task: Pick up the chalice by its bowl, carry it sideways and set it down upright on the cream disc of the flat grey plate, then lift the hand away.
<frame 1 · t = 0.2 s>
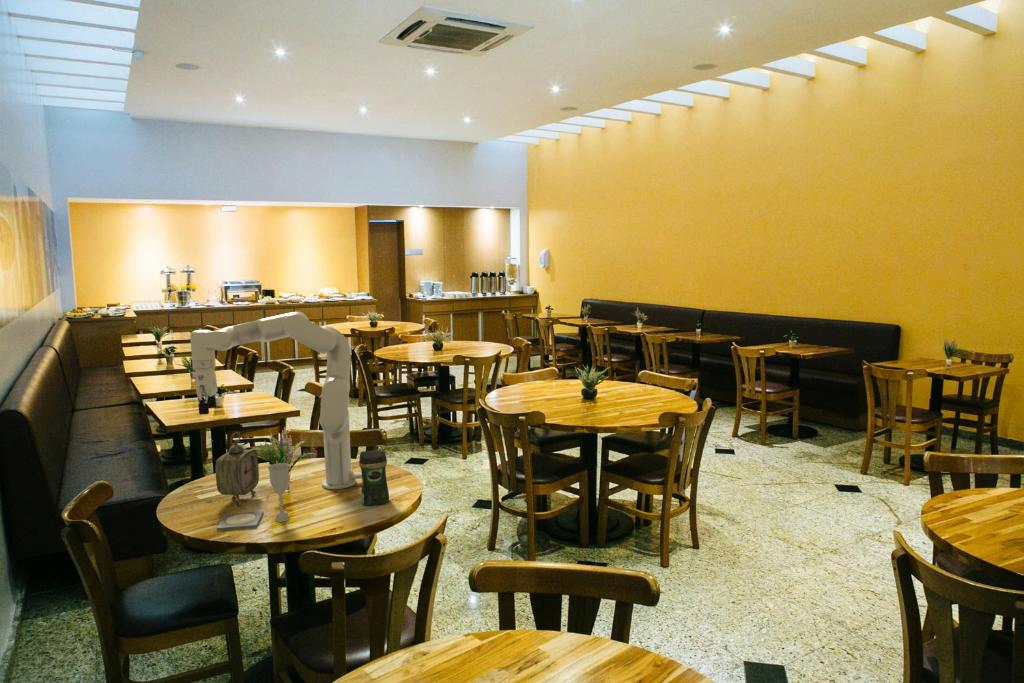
hand: (207, 411, 247), 31 cm above the table, tool pointing down, fingers open, 9 cm apart
plate: (240, 522, 223), on the table
coffee jar: (375, 502, 239), on the table
chalice: (282, 519, 226), on the table
tabletop clock: (239, 501, 243), on the table
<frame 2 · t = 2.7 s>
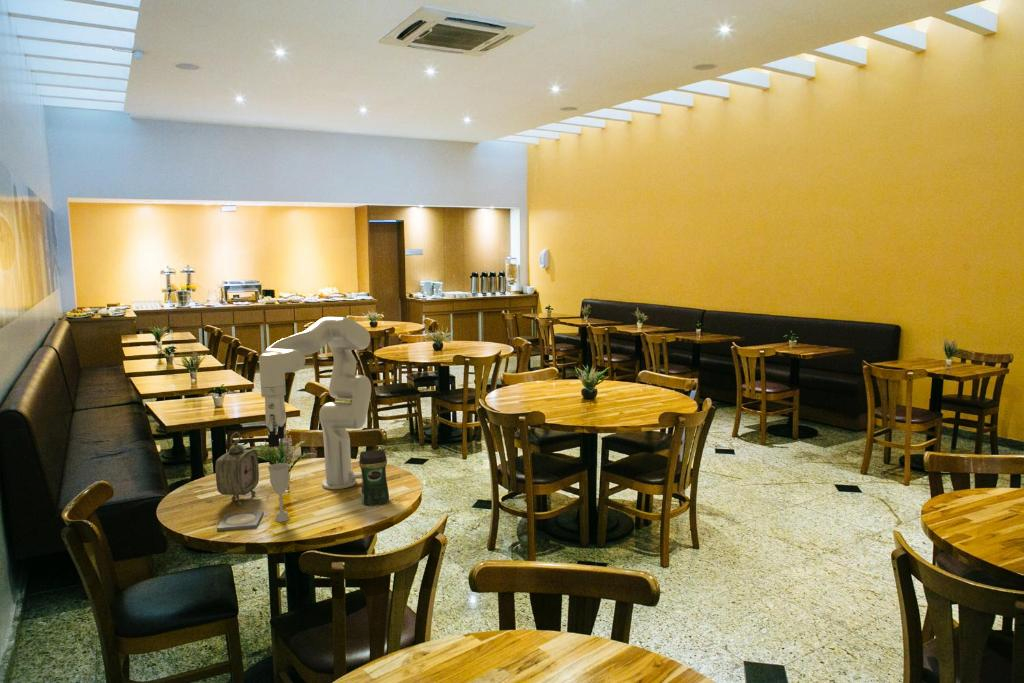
hand: (276, 442, 222), 26 cm above the table, tool pointing down, fingers open, 9 cm apart
nothing on the table moved.
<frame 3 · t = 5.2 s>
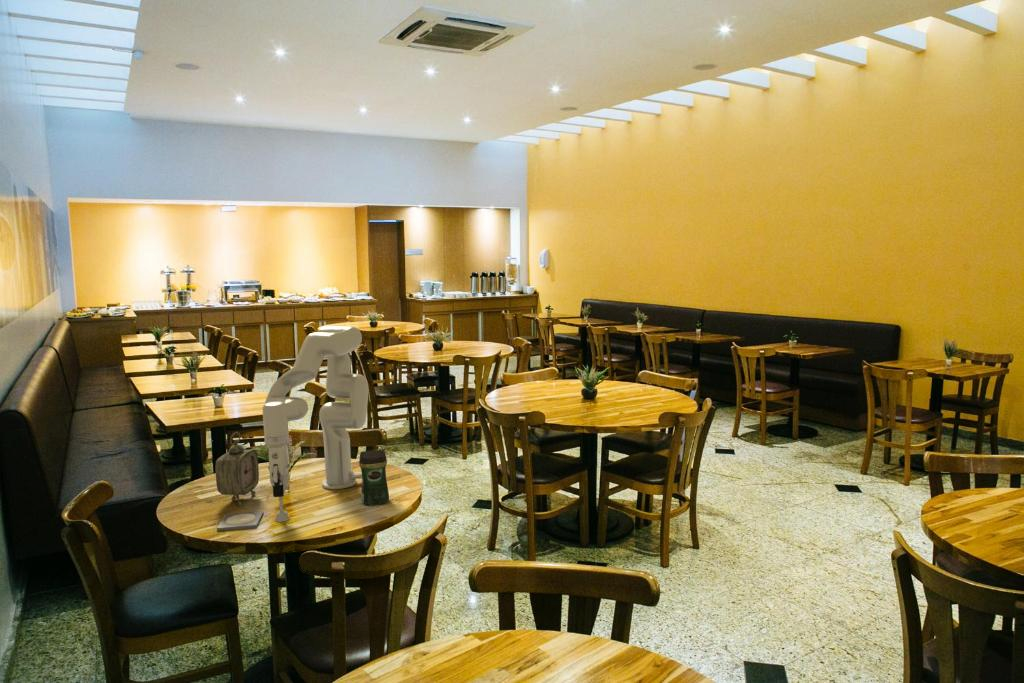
hand: (280, 492, 224), 9 cm above the table, tool pointing down, fingers closed on chalice, 6 cm apart
chalice: (282, 519, 226), on the table, touching gripper
everything else where it was.
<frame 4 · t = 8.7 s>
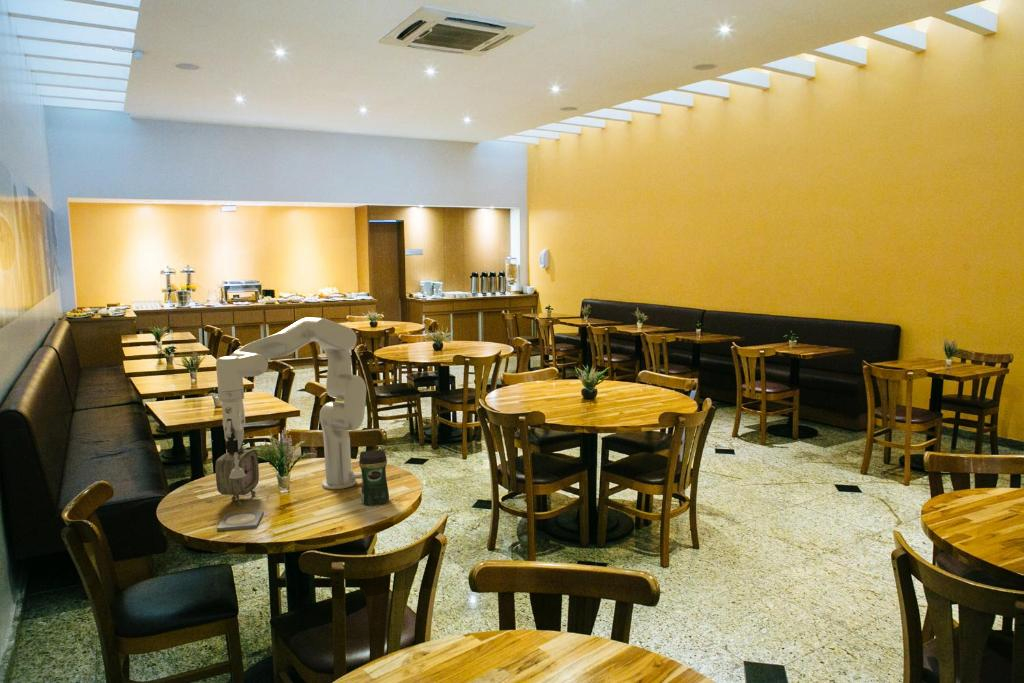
hand: (235, 448, 220), 25 cm above the table, tool pointing down, fingers closed on chalice, 6 cm apart
chalice: (237, 476, 221), point 15 cm above the table, touching gripper
everything else where it was.
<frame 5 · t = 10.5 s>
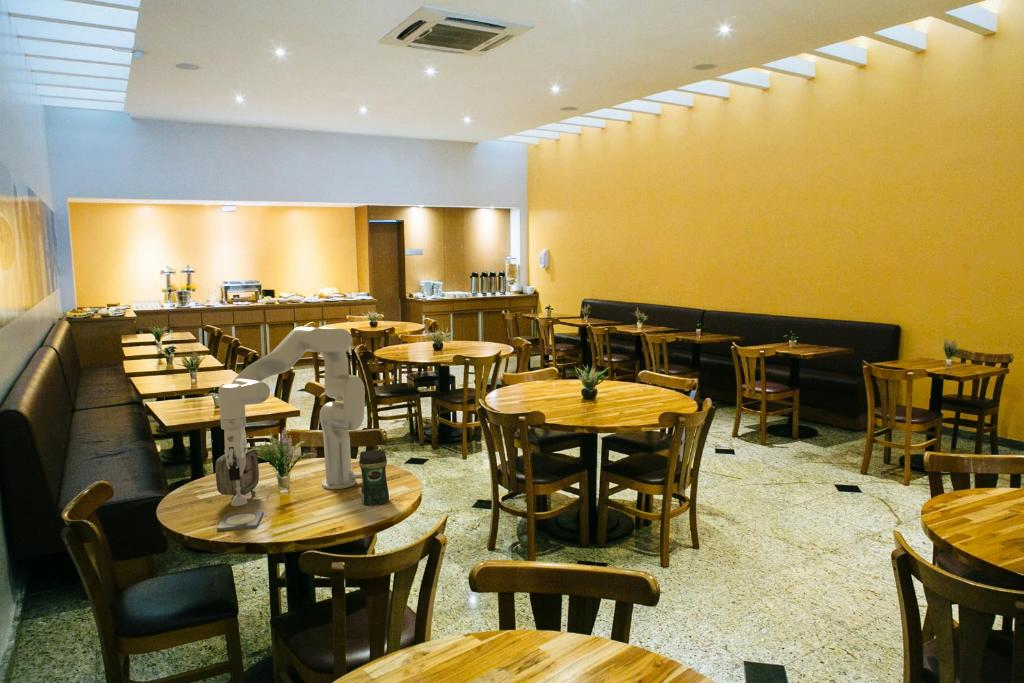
hand: (237, 476, 221), 16 cm above the table, tool pointing down, fingers closed on chalice, 6 cm apart
chalice: (239, 503, 223), point 6 cm above the table, touching gripper
everything else where it was.
when the fingers open (11 cm above the table, at t = 12.2 s): chalice stays where it is, resting on plate.
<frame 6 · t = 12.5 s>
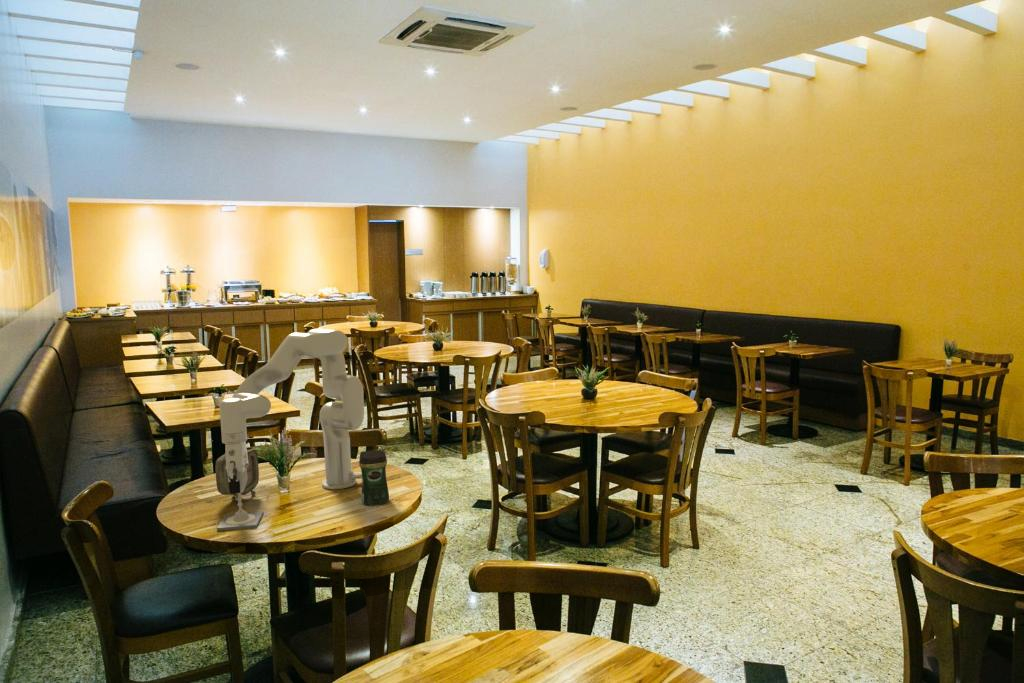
hand: (238, 488, 222), 12 cm above the table, tool pointing down, fingers open, 8 cm apart
chalice: (241, 519, 224), point 1 cm above the table, touching plate
everything else where it was.
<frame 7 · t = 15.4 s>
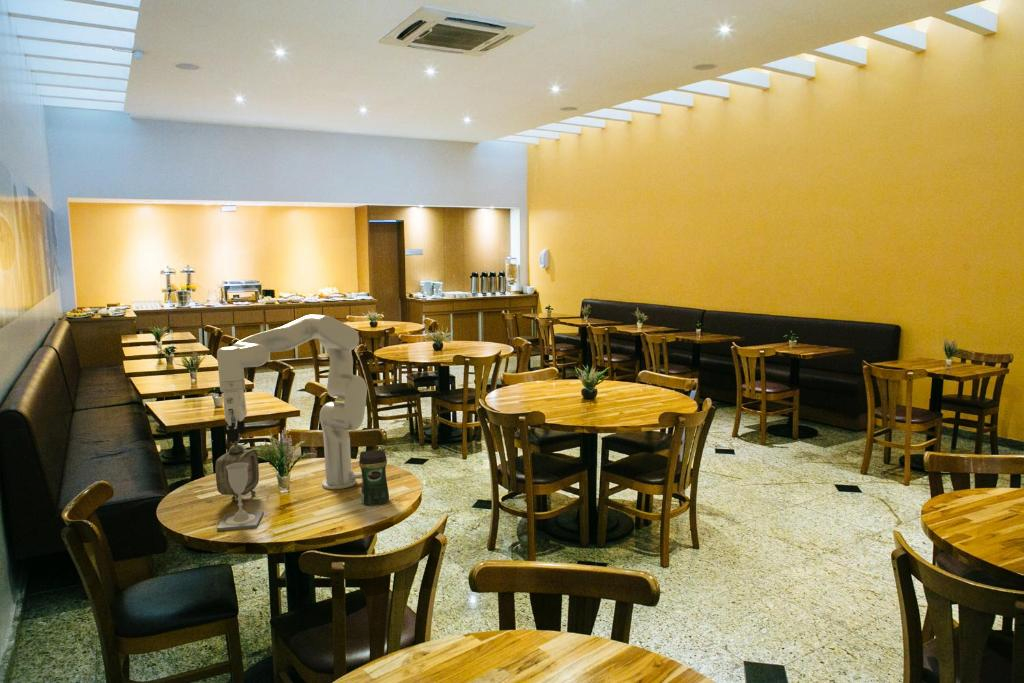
hand: (236, 436, 221), 28 cm above the table, tool pointing down, fingers open, 9 cm apart
nothing on the table moved.
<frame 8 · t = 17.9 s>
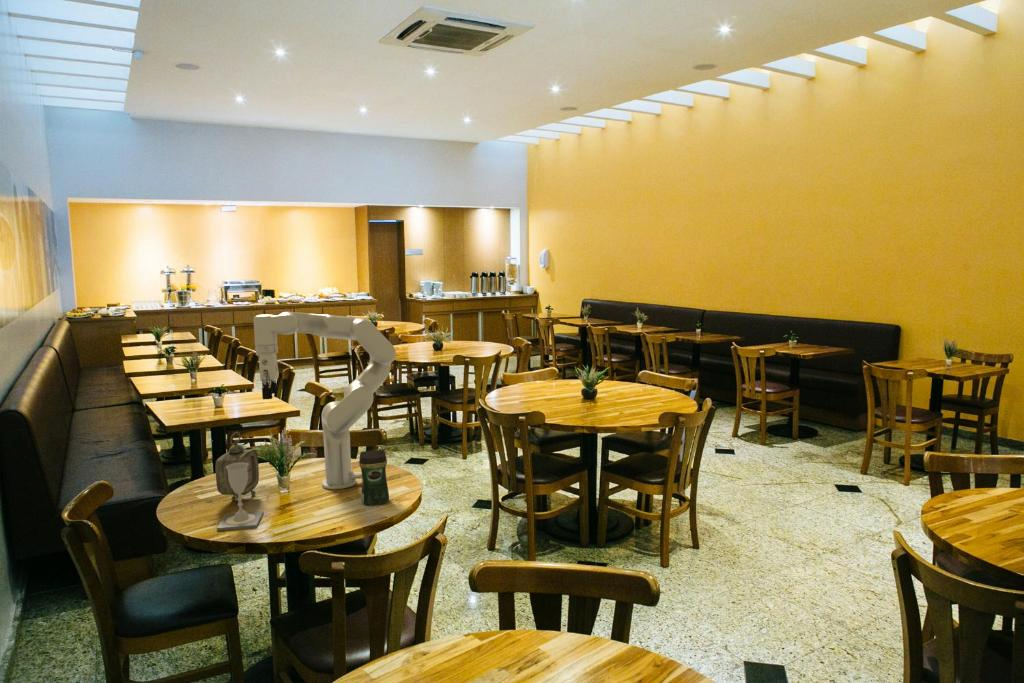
hand: (270, 396, 245), 36 cm above the table, tool pointing down, fingers open, 9 cm apart
nothing on the table moved.
at the end: chalice 0.3 cm off-centre on the plate, point 0.9 cm above the plate's base; chalice tilted 0°; the gripper is holding nothing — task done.
